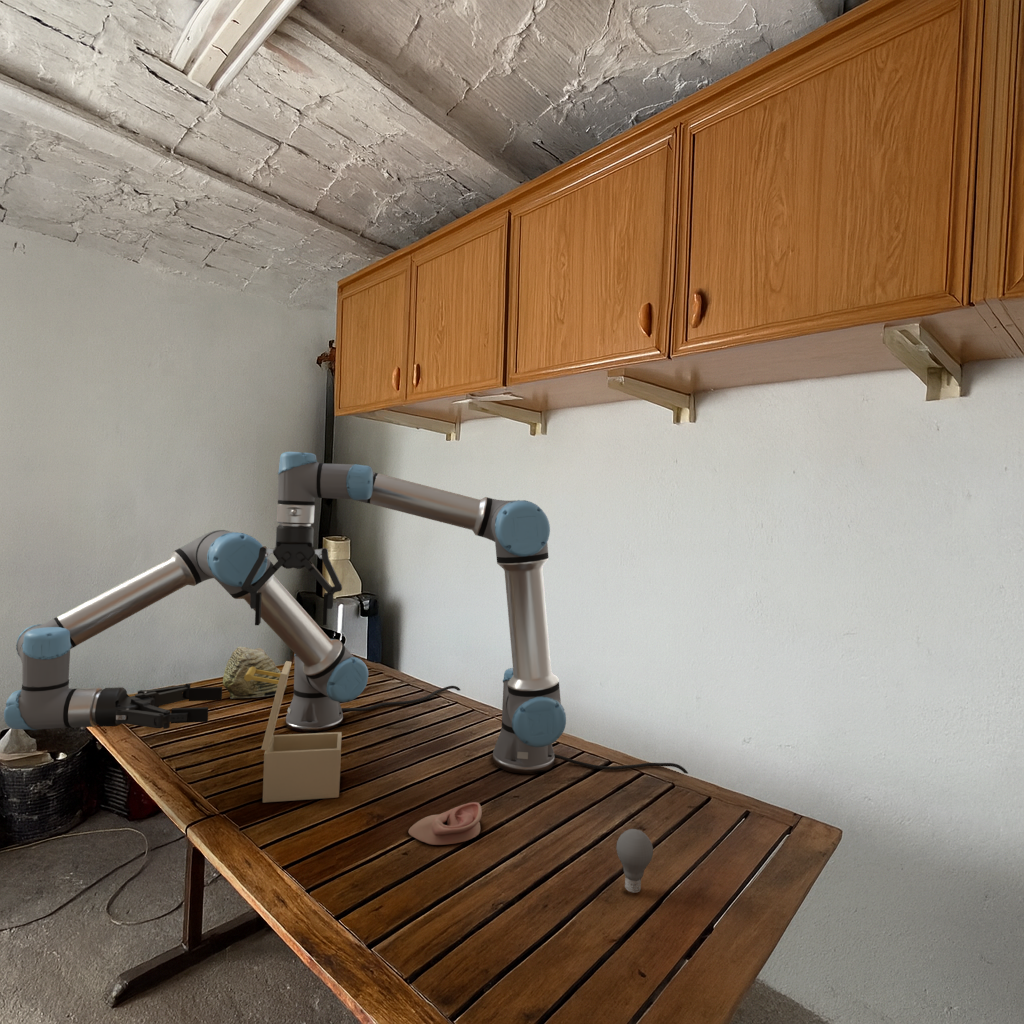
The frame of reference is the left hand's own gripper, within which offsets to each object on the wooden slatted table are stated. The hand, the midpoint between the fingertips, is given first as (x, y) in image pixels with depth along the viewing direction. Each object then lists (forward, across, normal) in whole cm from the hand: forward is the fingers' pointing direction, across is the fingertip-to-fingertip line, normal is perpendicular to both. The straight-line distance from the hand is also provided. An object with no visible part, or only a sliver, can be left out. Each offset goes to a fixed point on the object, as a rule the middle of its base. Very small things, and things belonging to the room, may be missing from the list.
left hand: (215, 703), depth 132 cm
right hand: (+14, 0, +17) cm, 22 cm away
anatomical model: (+46, +22, -19) cm, 55 cm away
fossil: (-2, -68, -19) cm, 71 cm away
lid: (+13, 0, -1) cm, 13 cm away
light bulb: (+74, +46, -19) cm, 89 cm away
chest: (+18, 0, -19) cm, 27 cm away
